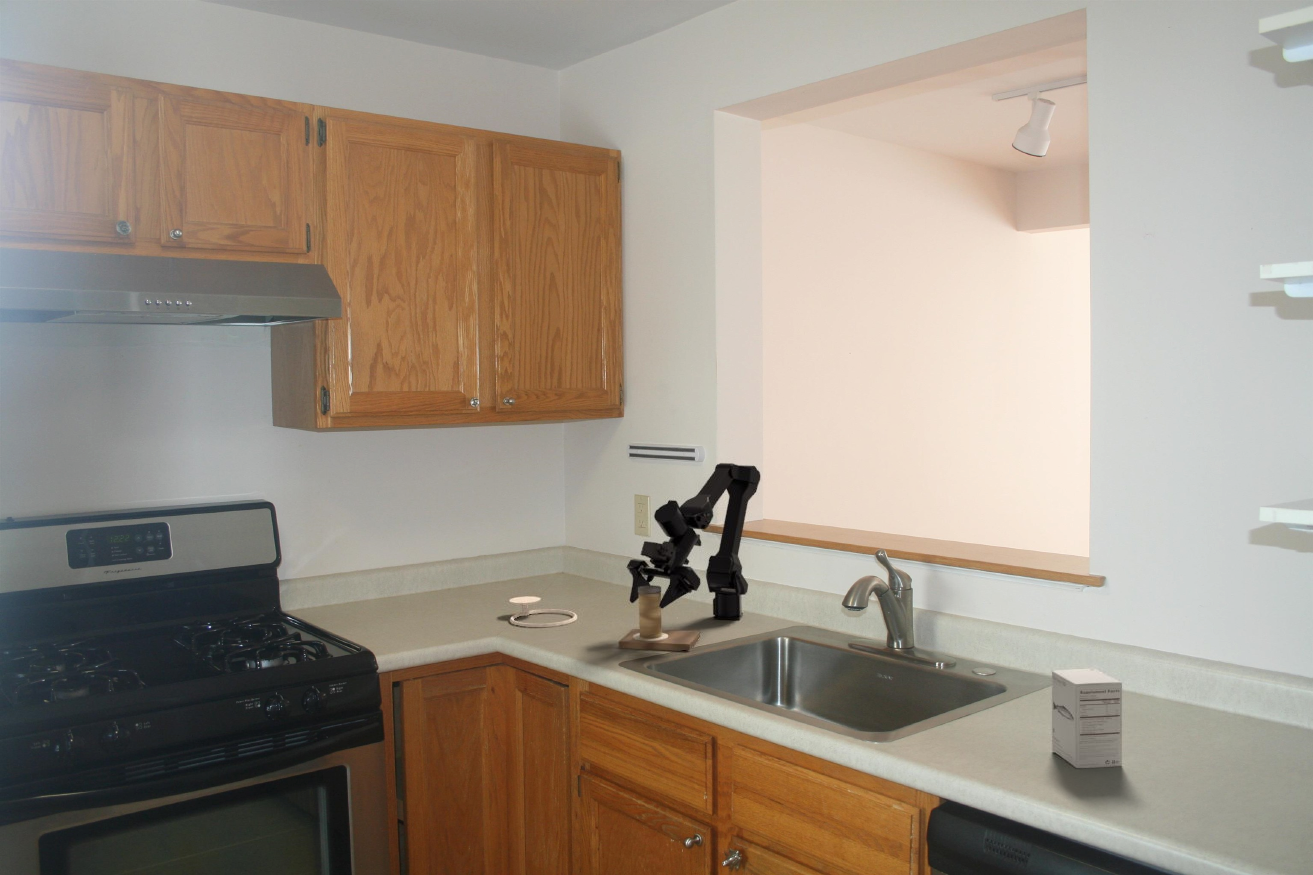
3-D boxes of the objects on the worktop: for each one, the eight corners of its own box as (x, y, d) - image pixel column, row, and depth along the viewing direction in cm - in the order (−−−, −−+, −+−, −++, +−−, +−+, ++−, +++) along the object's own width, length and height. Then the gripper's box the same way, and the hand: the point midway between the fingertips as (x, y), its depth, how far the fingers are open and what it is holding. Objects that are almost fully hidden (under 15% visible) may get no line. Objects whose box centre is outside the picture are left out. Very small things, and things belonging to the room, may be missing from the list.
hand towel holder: (535, 614, 234) (488, 602, 249) (535, 632, 234) (488, 619, 250) (590, 603, 246) (542, 592, 261) (591, 620, 246) (542, 608, 261)
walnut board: (700, 637, 225) (700, 630, 224) (689, 650, 213) (689, 643, 213) (632, 635, 228) (632, 627, 228) (619, 647, 217) (618, 640, 217)
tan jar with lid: (661, 632, 223) (660, 585, 222) (662, 638, 218) (661, 589, 217) (639, 633, 223) (637, 585, 222) (639, 639, 217) (638, 590, 217)
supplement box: (1050, 751, 149) (1049, 669, 149) (1096, 748, 150) (1096, 667, 149) (1075, 769, 142) (1074, 683, 141) (1123, 766, 142) (1123, 681, 142)
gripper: (631, 524, 228) (597, 578, 221) (691, 530, 216) (657, 588, 208) (655, 553, 234) (623, 607, 227) (714, 561, 222) (683, 618, 214)
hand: (645, 604), depth 219 cm, fingers open, 9 cm apart
